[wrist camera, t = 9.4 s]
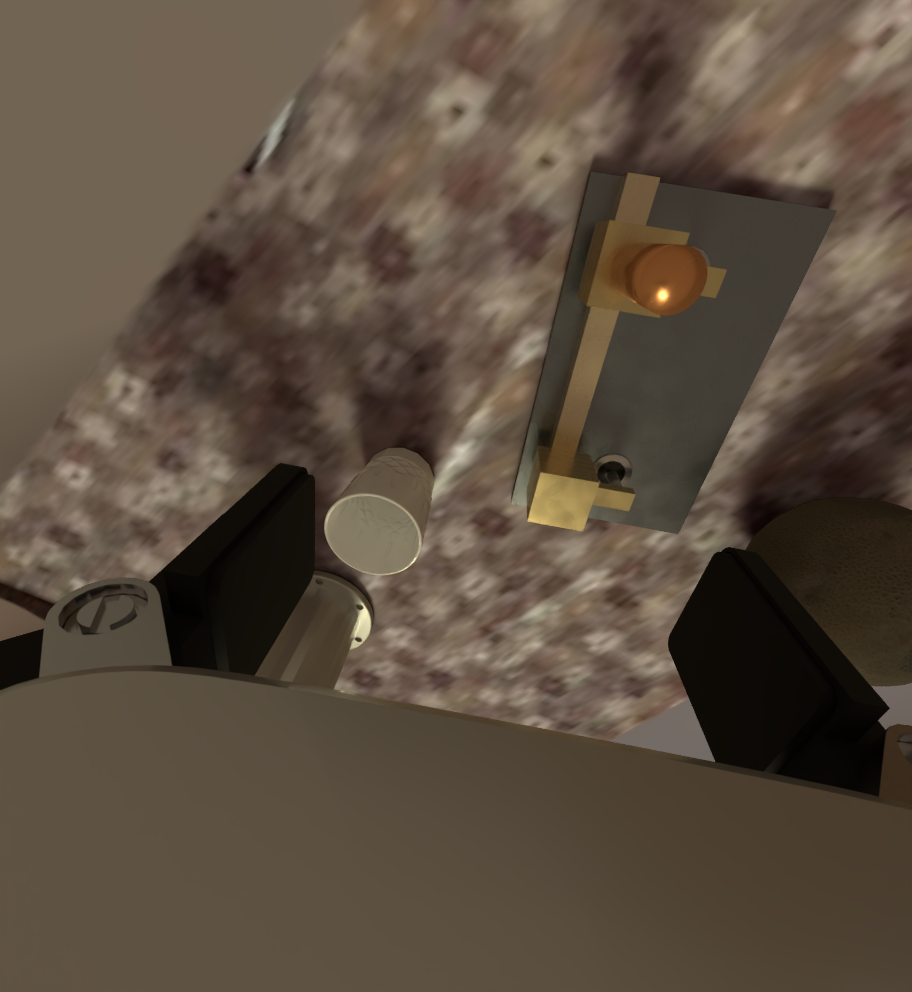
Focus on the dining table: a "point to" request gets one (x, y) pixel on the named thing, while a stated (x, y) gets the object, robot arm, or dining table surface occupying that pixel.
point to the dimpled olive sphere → (850, 578)
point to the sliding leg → (645, 270)
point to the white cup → (382, 513)
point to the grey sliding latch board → (658, 358)
